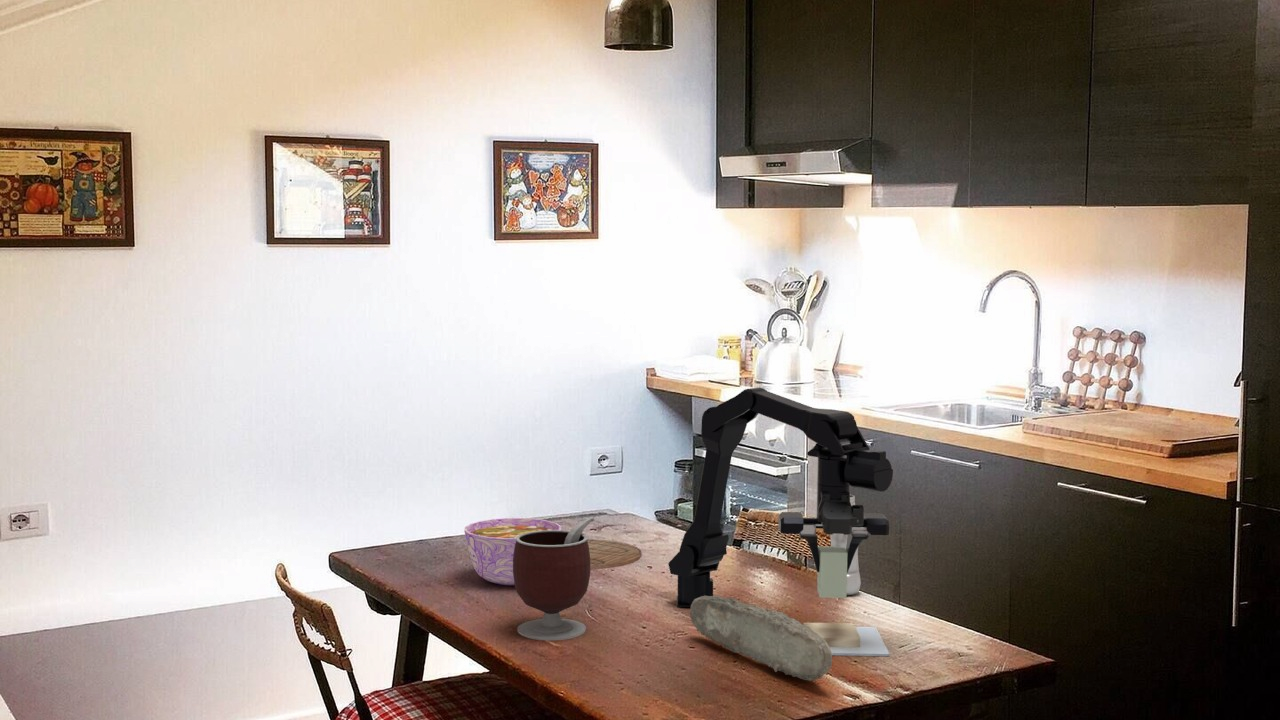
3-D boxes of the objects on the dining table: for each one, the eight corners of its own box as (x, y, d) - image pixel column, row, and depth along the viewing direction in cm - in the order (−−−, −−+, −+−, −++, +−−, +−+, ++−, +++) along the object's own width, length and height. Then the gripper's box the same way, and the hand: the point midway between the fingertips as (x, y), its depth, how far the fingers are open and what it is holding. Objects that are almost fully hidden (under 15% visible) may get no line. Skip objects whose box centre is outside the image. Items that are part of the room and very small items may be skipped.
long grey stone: (680, 641, 228) (681, 585, 227) (703, 636, 231) (704, 581, 230) (820, 696, 200) (821, 633, 199) (845, 690, 203) (846, 628, 202)
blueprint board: (783, 654, 221) (783, 652, 221) (776, 627, 236) (776, 625, 236) (889, 656, 220) (889, 653, 220) (875, 628, 236) (875, 626, 236)
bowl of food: (446, 589, 262) (445, 533, 261) (493, 567, 280) (493, 514, 279) (534, 600, 254) (534, 542, 253) (577, 576, 273) (577, 522, 272)
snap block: (819, 597, 225) (820, 552, 225) (817, 590, 230) (818, 546, 229) (846, 598, 225) (847, 552, 225) (843, 591, 230) (844, 546, 229)
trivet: (599, 580, 272) (599, 571, 271) (506, 563, 285) (506, 555, 285) (662, 556, 292) (663, 548, 292) (573, 542, 306) (573, 534, 306)
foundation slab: (807, 646, 224) (808, 637, 224) (803, 631, 233) (803, 622, 233) (860, 647, 224) (860, 638, 223) (853, 632, 233) (853, 623, 232)
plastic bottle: (840, 600, 255) (842, 500, 254) (820, 592, 261) (822, 494, 260) (867, 596, 258) (869, 497, 257) (846, 588, 264) (848, 491, 263)
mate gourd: (535, 647, 224) (535, 533, 222) (499, 627, 236) (499, 518, 234) (612, 633, 232) (612, 523, 230) (574, 615, 244) (574, 510, 242)
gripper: (783, 491, 218) (782, 582, 220) (895, 493, 218) (893, 584, 219) (778, 480, 229) (777, 566, 231) (884, 481, 229) (882, 568, 230)
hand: (832, 571), depth 227 cm, fingers closed on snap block, 5 cm apart
